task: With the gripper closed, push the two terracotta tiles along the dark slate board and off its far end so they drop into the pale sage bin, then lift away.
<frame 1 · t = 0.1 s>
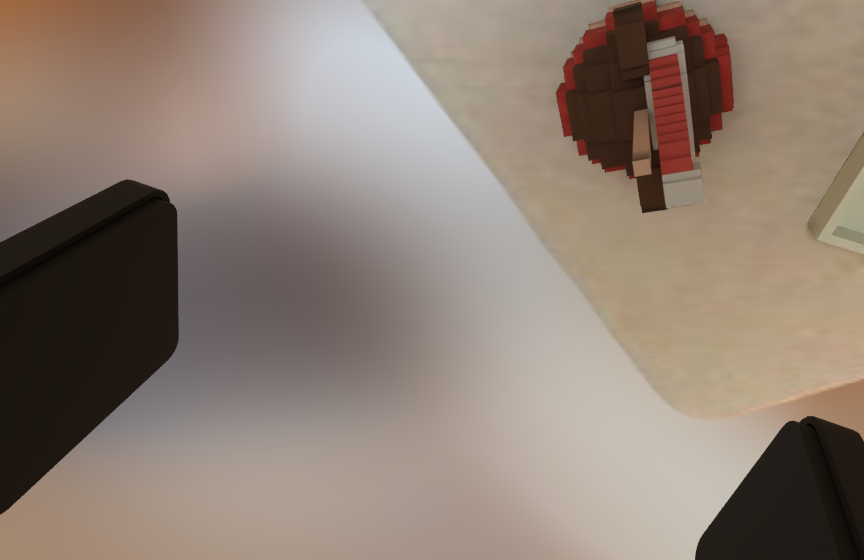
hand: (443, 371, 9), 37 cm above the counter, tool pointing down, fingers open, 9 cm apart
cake: (641, 75, 41), on the counter
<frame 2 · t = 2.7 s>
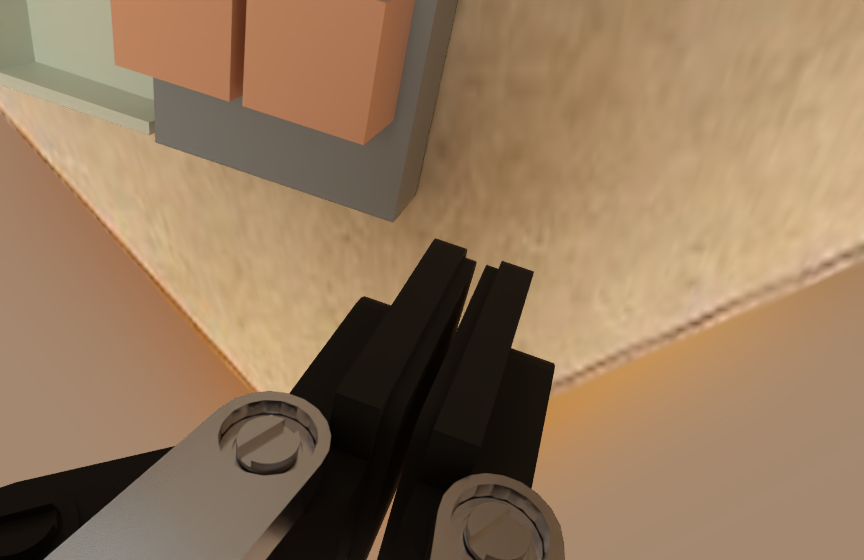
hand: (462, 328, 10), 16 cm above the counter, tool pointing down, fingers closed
slate board: (318, 11, 25), on the counter
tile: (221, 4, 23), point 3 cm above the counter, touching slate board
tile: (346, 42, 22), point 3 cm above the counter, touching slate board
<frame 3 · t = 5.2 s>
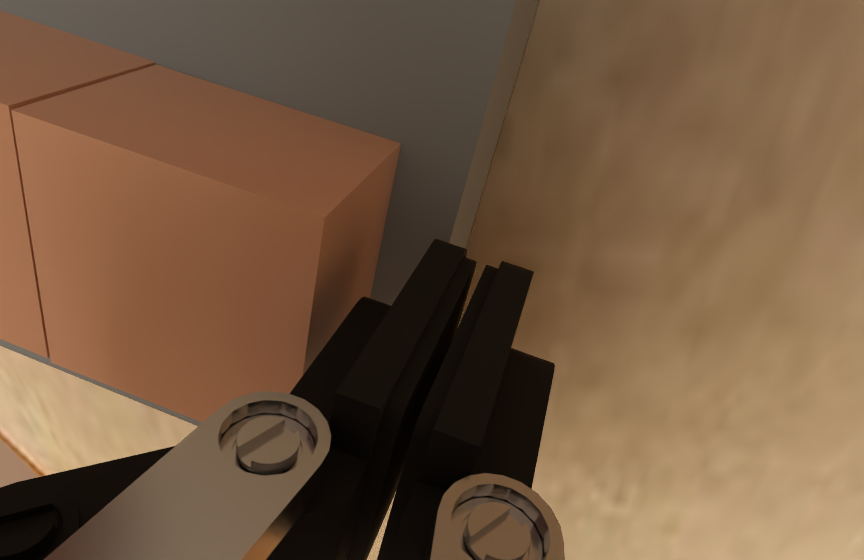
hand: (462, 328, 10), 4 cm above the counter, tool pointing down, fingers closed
slate board: (251, 137, 14), on the counter
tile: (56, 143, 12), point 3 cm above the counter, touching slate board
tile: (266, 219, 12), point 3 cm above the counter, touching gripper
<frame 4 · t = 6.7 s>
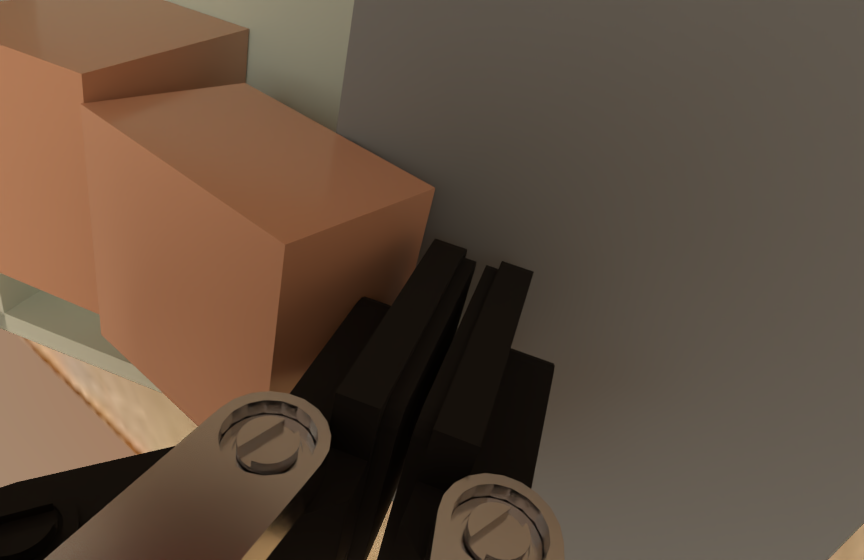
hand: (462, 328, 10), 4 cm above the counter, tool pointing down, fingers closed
slate board: (615, 257, 13), on the counter
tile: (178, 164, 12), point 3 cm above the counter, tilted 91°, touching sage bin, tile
sage bin: (189, 113, 15), on the counter
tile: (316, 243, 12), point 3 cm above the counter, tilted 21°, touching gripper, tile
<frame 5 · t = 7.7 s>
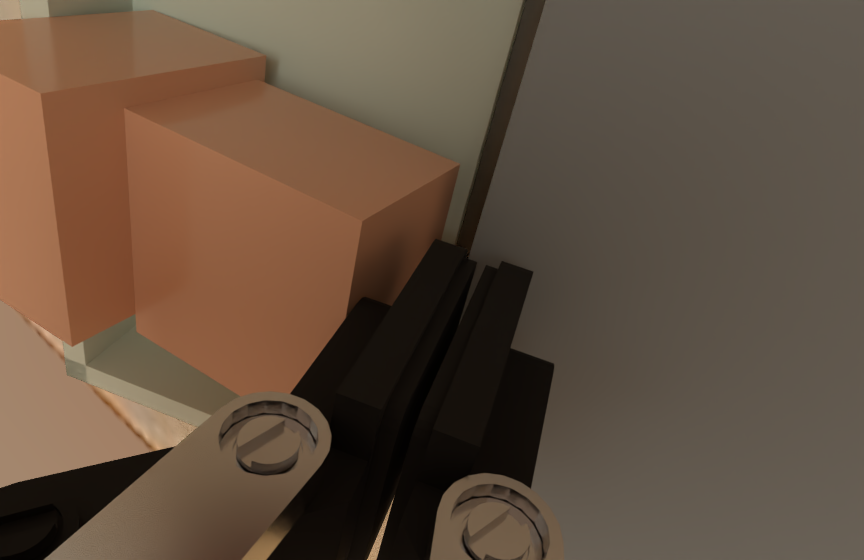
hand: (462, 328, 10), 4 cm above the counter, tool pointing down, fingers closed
slate board: (739, 315, 13), on the counter
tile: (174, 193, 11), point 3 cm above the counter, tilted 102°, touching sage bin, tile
sage bin: (288, 163, 14), on the counter
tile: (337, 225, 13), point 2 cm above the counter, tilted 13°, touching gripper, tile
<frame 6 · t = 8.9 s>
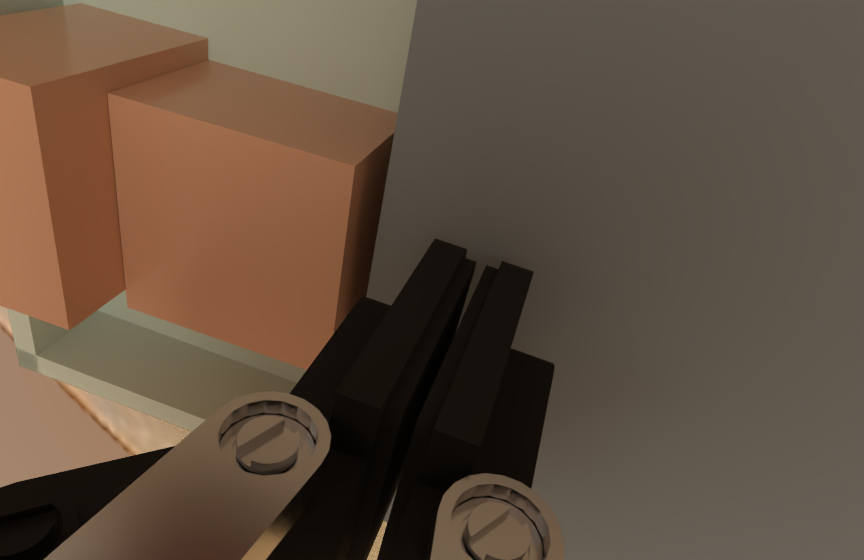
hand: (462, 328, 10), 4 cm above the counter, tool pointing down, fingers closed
slate board: (664, 290, 13), on the counter
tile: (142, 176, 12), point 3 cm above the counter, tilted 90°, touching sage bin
sage bin: (223, 151, 15), on the counter
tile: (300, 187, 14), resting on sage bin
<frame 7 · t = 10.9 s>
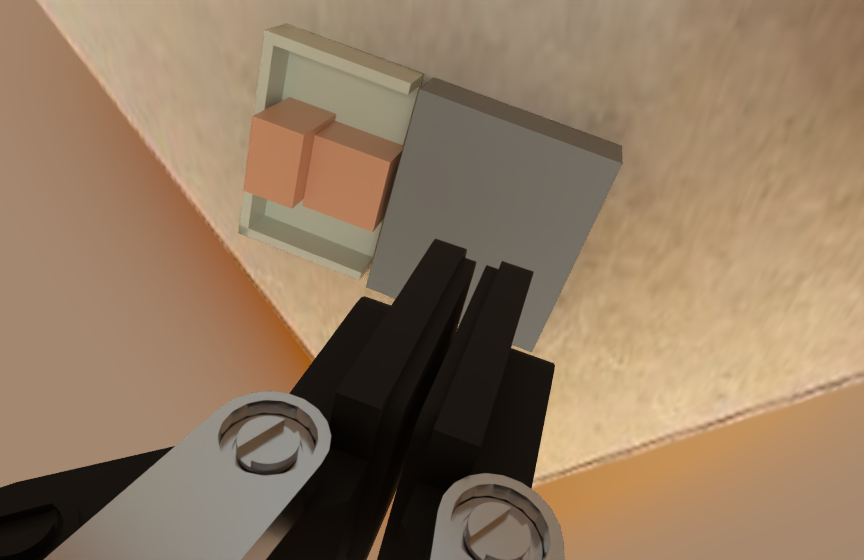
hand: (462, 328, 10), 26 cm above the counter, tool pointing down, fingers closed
slate board: (489, 211, 38), on the counter
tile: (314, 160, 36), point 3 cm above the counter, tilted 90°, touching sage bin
sage bin: (333, 152, 39), on the counter
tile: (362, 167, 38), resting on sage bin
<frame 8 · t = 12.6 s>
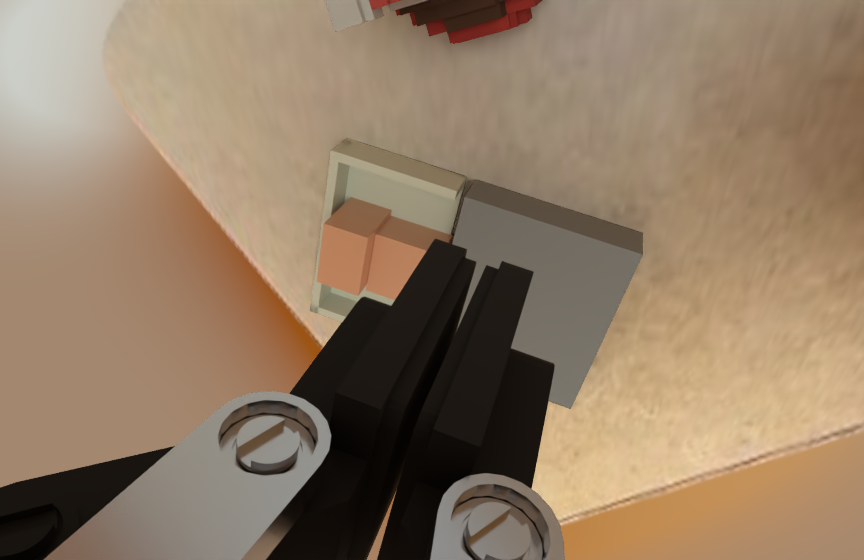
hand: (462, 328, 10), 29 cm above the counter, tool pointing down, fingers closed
slate board: (528, 287, 43), on the counter
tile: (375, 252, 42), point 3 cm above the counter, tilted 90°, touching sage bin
sage bin: (389, 240, 45), on the counter
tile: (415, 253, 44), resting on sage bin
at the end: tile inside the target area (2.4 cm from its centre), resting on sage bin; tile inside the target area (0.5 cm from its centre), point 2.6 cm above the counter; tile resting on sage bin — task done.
